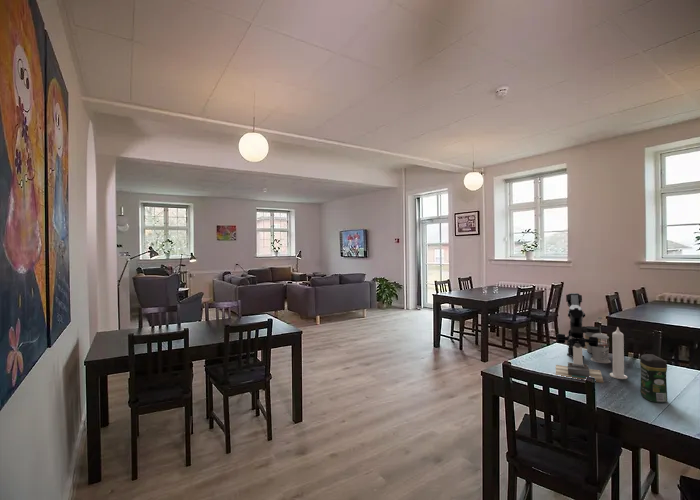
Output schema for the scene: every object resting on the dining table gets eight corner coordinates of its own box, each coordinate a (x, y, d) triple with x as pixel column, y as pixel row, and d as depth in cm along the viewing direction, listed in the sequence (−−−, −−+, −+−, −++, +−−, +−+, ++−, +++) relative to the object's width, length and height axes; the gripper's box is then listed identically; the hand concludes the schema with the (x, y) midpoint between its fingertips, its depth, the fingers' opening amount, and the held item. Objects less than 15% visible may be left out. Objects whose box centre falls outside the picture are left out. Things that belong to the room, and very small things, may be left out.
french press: (586, 359, 209) (585, 316, 208) (598, 356, 214) (598, 313, 213) (604, 364, 200) (603, 319, 199) (616, 360, 205) (616, 316, 204)
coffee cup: (605, 354, 216) (605, 329, 216) (589, 354, 217) (589, 329, 216) (595, 349, 226) (595, 325, 225) (580, 350, 226) (579, 326, 226)
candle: (630, 379, 178) (629, 328, 177) (614, 378, 179) (613, 328, 178) (622, 374, 185) (622, 325, 184) (607, 373, 186) (606, 325, 185)
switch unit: (555, 366, 198) (555, 356, 198) (600, 372, 188) (600, 361, 188) (555, 376, 184) (555, 365, 184) (603, 383, 174) (603, 371, 174)
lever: (573, 364, 189) (572, 342, 192) (582, 365, 187) (581, 343, 190) (573, 363, 186) (573, 342, 190) (582, 364, 184) (582, 342, 188)
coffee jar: (637, 393, 162) (636, 352, 162) (658, 394, 160) (657, 353, 160) (648, 402, 153) (648, 359, 152) (671, 404, 151) (670, 360, 150)
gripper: (556, 318, 199) (556, 343, 189) (597, 321, 189) (600, 348, 180) (556, 330, 205) (557, 354, 196) (596, 333, 196) (598, 359, 187)
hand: (577, 354), depth 190 cm, fingers closed, pressing on lever
